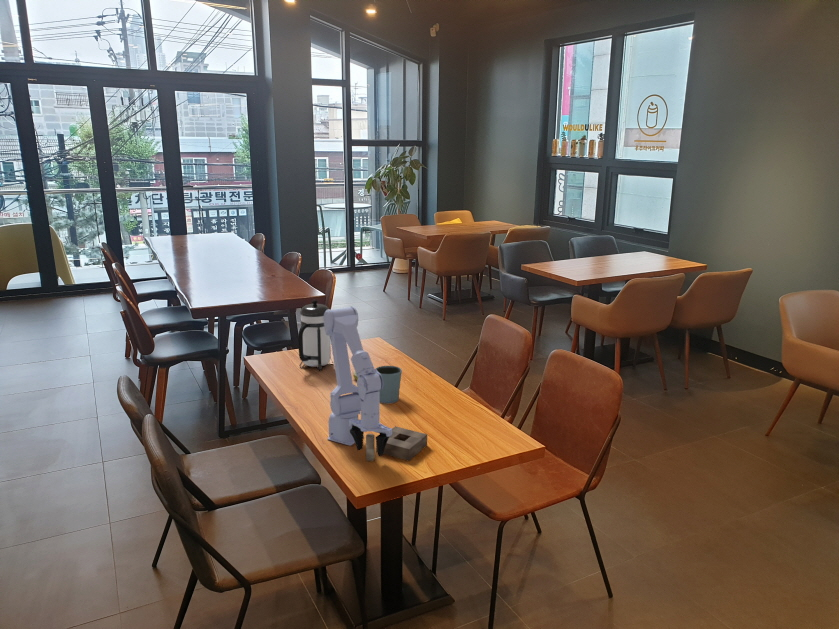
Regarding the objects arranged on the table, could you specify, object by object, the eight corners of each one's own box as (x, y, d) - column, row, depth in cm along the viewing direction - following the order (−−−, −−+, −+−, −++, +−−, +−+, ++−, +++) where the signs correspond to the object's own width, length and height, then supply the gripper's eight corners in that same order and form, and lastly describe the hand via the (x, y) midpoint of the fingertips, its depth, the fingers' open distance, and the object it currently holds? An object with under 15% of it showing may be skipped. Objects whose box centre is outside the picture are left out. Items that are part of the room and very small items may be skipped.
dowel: (364, 459, 195) (364, 436, 193) (369, 456, 198) (368, 433, 196) (371, 462, 194) (371, 438, 192) (376, 458, 197) (376, 434, 194)
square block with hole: (376, 451, 201) (376, 440, 200) (395, 437, 211) (395, 426, 210) (409, 460, 195) (409, 449, 194) (427, 445, 206) (427, 434, 204)
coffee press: (294, 362, 282) (292, 296, 274) (330, 359, 287) (329, 294, 279) (299, 375, 266) (297, 306, 258) (337, 371, 271) (336, 304, 263)
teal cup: (370, 400, 241) (369, 371, 237) (383, 392, 249) (383, 363, 246) (393, 406, 236) (393, 376, 233) (406, 397, 245) (406, 368, 242)
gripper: (342, 411, 192) (343, 451, 195) (383, 421, 185) (383, 463, 189) (355, 403, 198) (356, 442, 201) (395, 412, 191) (395, 453, 195)
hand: (370, 452), depth 195 cm, fingers open, 7 cm apart
